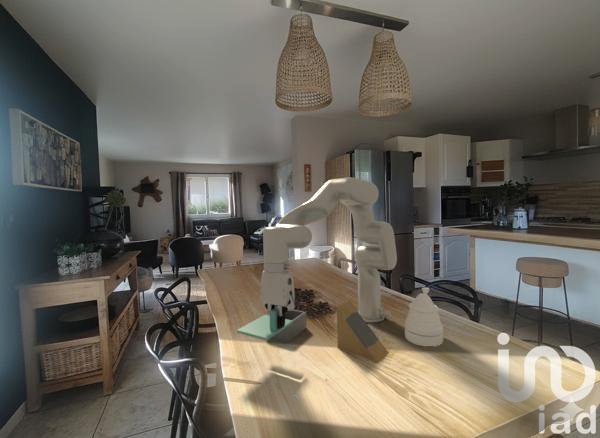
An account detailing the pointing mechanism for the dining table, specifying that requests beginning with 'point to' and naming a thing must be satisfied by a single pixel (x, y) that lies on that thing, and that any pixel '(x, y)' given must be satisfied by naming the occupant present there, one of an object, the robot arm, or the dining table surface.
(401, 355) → the dining table surface
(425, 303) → the honey pot
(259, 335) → the lid
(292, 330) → the tub
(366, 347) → the sandwich container
